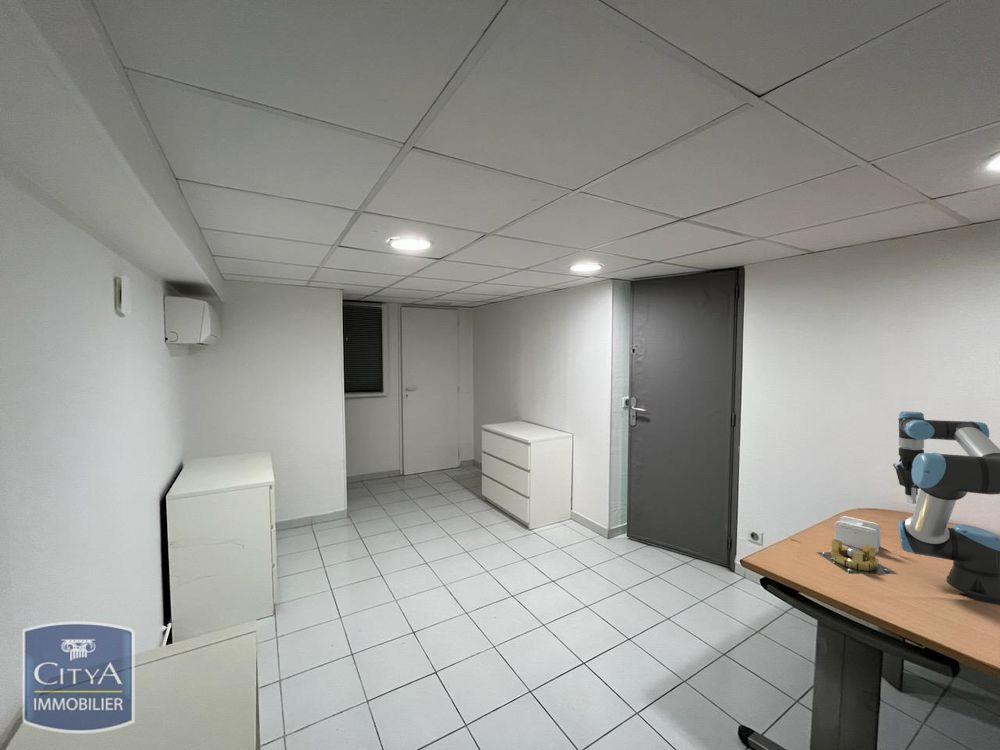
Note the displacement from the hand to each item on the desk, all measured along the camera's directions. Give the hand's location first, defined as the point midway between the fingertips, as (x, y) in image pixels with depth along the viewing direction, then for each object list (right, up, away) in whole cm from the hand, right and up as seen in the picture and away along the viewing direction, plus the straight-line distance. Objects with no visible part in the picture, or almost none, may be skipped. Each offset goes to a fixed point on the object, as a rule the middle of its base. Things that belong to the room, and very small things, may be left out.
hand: (911, 502), depth 171 cm
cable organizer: (-11, -25, +13) cm, 30 cm away
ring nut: (-28, -24, -4) cm, 37 cm away
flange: (-28, -25, -4) cm, 38 cm away
